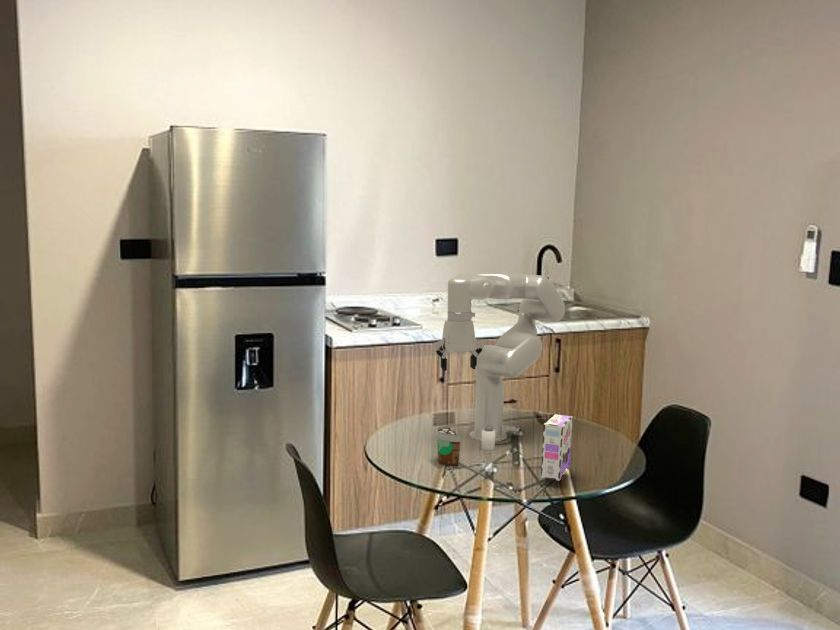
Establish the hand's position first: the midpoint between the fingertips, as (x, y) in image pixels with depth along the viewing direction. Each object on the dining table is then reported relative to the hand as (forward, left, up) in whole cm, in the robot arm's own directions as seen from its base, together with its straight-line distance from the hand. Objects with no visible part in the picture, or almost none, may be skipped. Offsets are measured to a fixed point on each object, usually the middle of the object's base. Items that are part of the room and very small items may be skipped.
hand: (458, 369), depth 275 cm
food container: (+8, +16, -26) cm, 31 cm away
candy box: (-22, +31, -26) cm, 46 cm away
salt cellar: (-10, +3, -26) cm, 28 cm away
